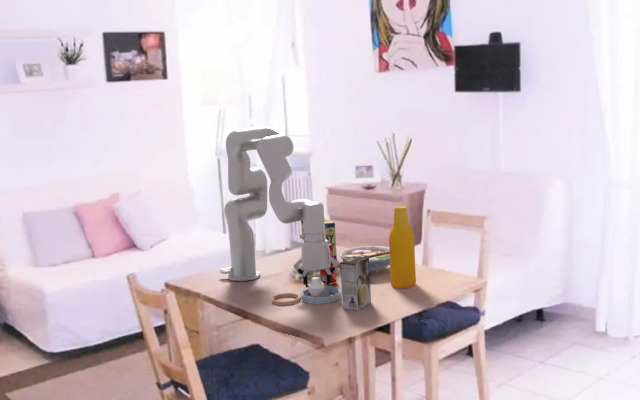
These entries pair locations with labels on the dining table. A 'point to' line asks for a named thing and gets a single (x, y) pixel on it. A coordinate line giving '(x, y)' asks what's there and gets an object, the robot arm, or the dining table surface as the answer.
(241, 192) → the robot arm
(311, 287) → the white steamed bun
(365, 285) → the coffee box
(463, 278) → the dining table surface
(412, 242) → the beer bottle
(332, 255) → the beverage can
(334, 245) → the protein box
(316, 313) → the dining table surface
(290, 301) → the terracotta ring
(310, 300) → the slate ring
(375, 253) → the ramen bowl
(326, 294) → the grey ball
